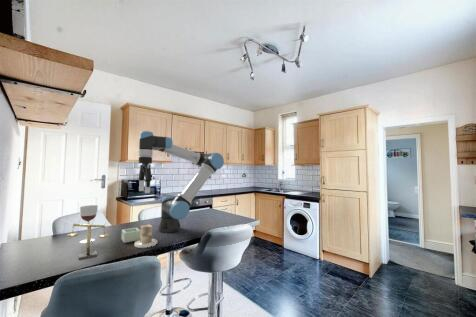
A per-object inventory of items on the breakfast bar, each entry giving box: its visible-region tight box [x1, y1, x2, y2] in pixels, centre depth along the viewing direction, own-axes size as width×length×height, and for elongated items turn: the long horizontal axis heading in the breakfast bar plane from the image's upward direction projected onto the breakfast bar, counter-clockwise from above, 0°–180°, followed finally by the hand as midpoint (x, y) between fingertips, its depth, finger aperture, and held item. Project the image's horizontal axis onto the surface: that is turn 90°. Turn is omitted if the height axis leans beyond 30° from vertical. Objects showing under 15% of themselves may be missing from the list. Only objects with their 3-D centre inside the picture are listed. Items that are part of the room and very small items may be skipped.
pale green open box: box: [121, 227, 140, 244], centre depth 128 cm, size 8×8×6 cm
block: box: [139, 224, 153, 244], centre depth 120 cm, size 5×5×9 cm
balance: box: [66, 223, 110, 260], centre depth 103 cm, size 17×5×16 cm, turn 128°
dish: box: [134, 238, 159, 249], centre depth 120 cm, size 12×12×1 cm
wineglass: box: [79, 204, 99, 244], centre depth 125 cm, size 8×9×20 cm
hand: (144, 191), depth 128 cm, fingers open, 13 cm apart
